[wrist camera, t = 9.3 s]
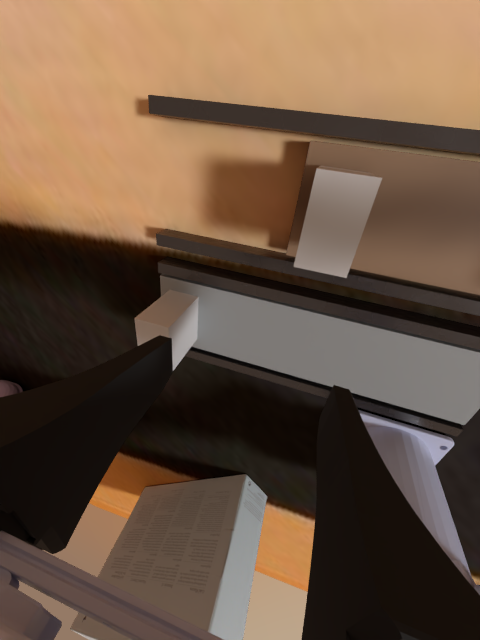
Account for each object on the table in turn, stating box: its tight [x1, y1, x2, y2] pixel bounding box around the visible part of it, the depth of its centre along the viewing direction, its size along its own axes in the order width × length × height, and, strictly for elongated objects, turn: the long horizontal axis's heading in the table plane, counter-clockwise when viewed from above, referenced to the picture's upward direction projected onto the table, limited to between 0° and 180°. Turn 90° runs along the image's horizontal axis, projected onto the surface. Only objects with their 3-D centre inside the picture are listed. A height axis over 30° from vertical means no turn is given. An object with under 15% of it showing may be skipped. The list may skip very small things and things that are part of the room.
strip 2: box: [135, 274, 480, 425], centre depth 18 cm, size 6×24×6 cm, turn 83°
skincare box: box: [70, 474, 267, 640], centre depth 32 cm, size 21×5×16 cm, turn 126°
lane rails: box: [148, 95, 480, 436], centre depth 18 cm, size 18×24×1 cm
